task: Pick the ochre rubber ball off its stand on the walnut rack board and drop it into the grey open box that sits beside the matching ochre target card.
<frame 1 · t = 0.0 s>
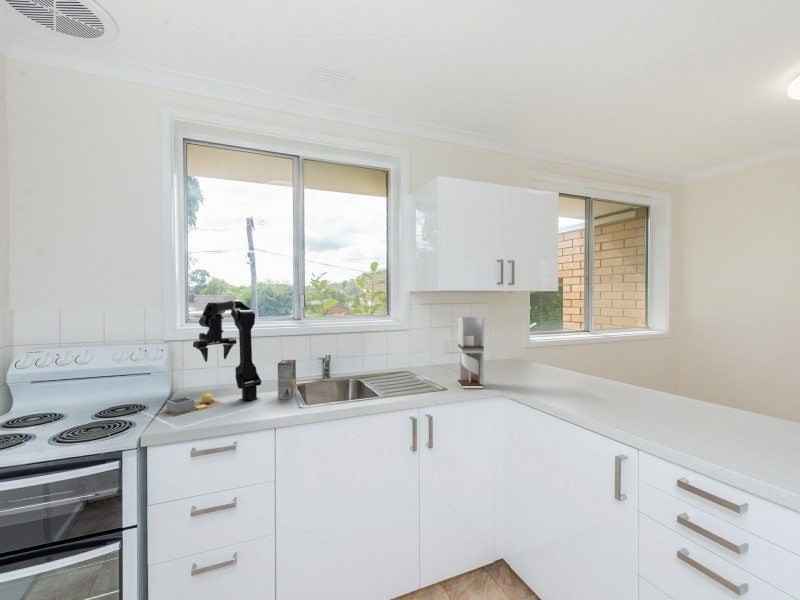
hand: (215, 360, 180), 15 cm above the worktop, fingers open, 9 cm apart
ball: (207, 403, 158), point 1 cm above the worktop, touching rack board
coffee box: (287, 396, 171), on the worktop
display case: (470, 386, 190), on the worktop
rack board: (193, 408, 153), on the worktop
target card: (201, 409, 151), resting on rack board
grey open box: (180, 411, 149), resting on rack board
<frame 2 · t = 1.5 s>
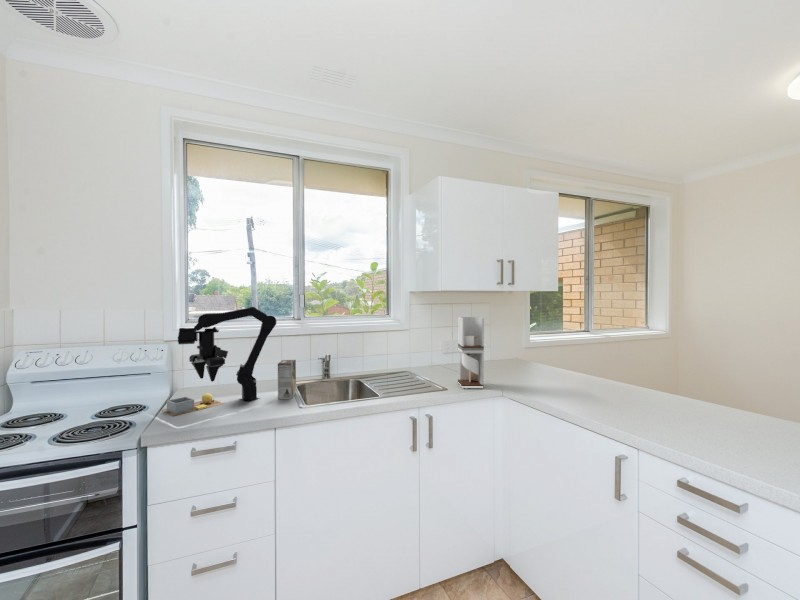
hand: (207, 379, 158), 10 cm above the worktop, fingers open, 9 cm apart
nothing on the worktop moved.
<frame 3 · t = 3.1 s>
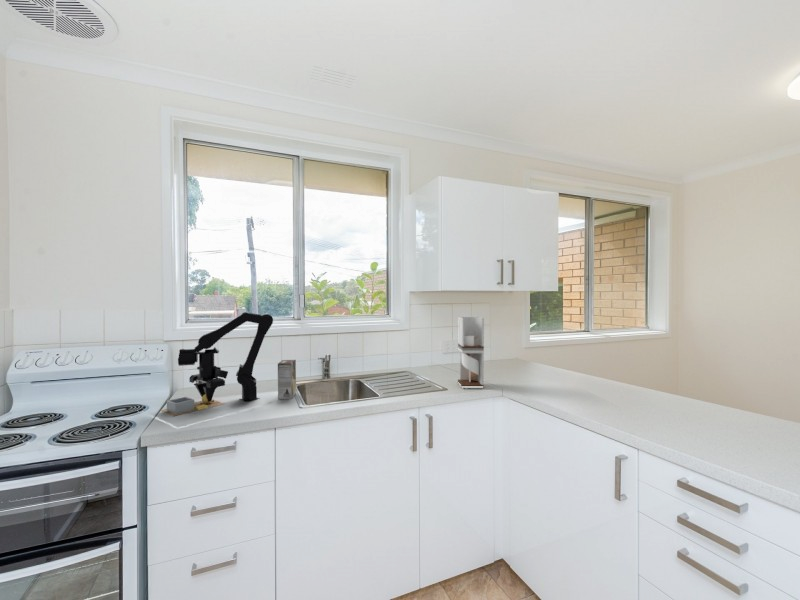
hand: (207, 400, 158), 2 cm above the worktop, fingers closed on ball, 4 cm apart
ball: (207, 403, 158), point 1 cm above the worktop, touching gripper, rack board
everything else where it was.
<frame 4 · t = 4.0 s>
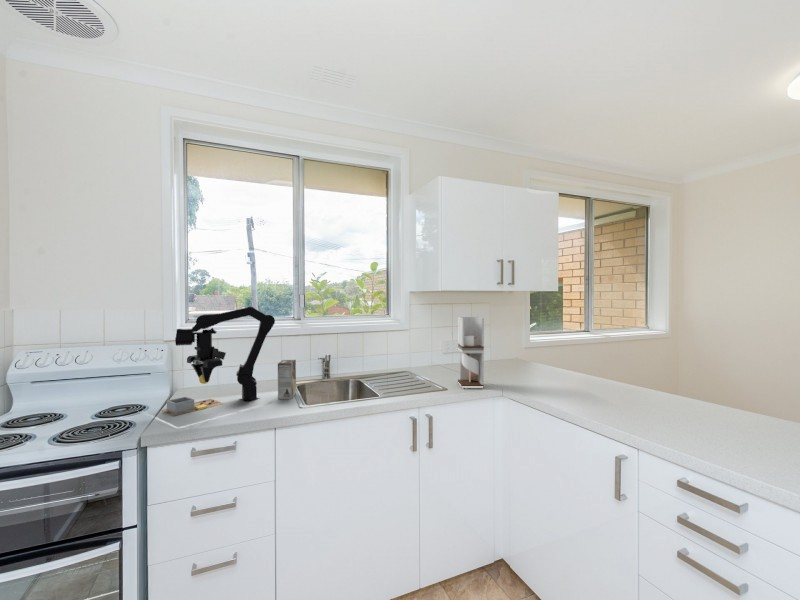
hand: (204, 381, 157), 10 cm above the worktop, fingers closed on ball, 4 cm apart
ball: (204, 383, 157), point 9 cm above the worktop, touching gripper
everything else where it was.
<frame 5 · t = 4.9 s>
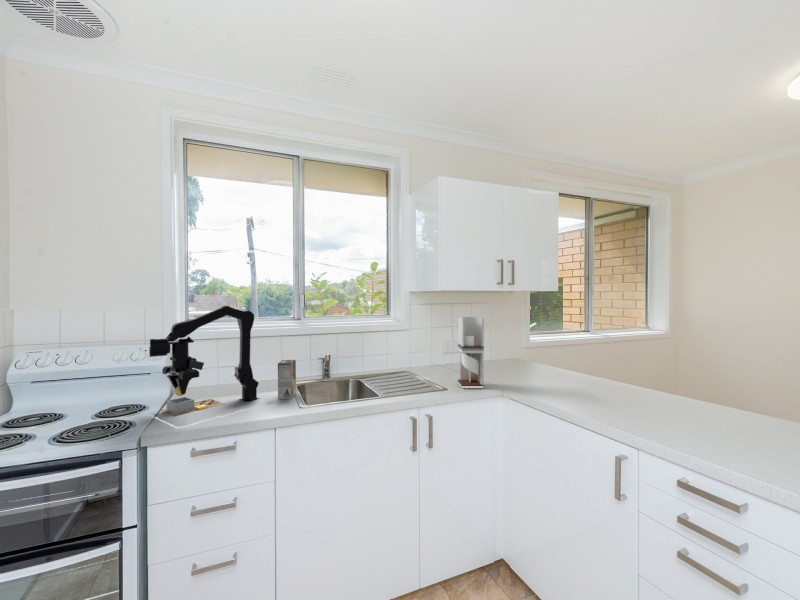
hand: (180, 393, 148), 7 cm above the worktop, fingers closed on ball, 4 cm apart
ball: (180, 395, 148), point 6 cm above the worktop, touching gripper
everything else where it was.
when the fingers open (6 cm above the worktop, at t = 5.2 s): ball drops 5 cm, resting on rack board.
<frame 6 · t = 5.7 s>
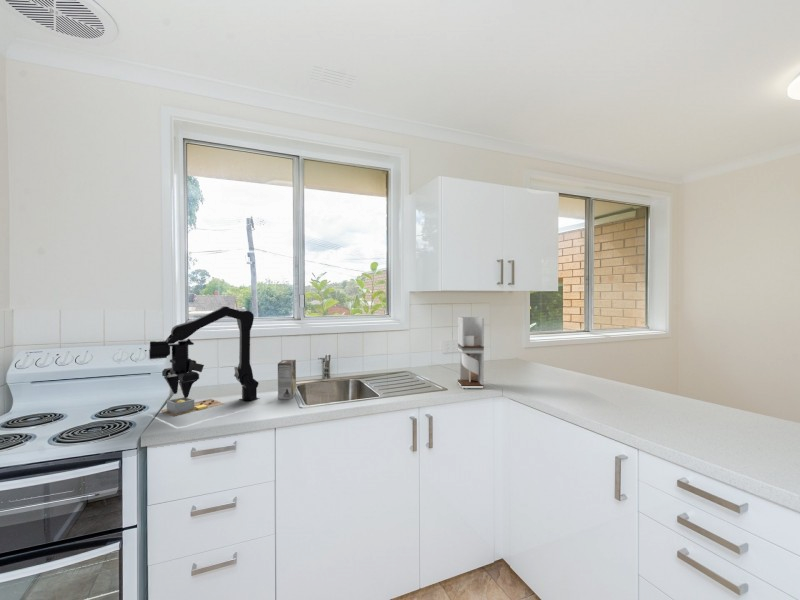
hand: (180, 395, 148), 6 cm above the worktop, fingers open, 9 cm apart
ball: (180, 410, 149), point 1 cm above the worktop, touching rack board
everything else where it was.
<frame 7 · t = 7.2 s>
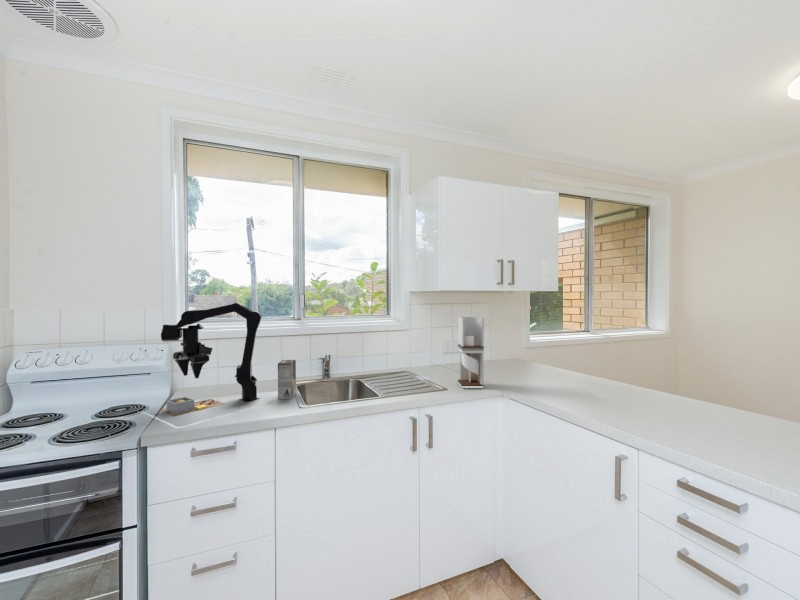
hand: (191, 376, 157), 12 cm above the worktop, fingers open, 9 cm apart
nothing on the worktop moved.
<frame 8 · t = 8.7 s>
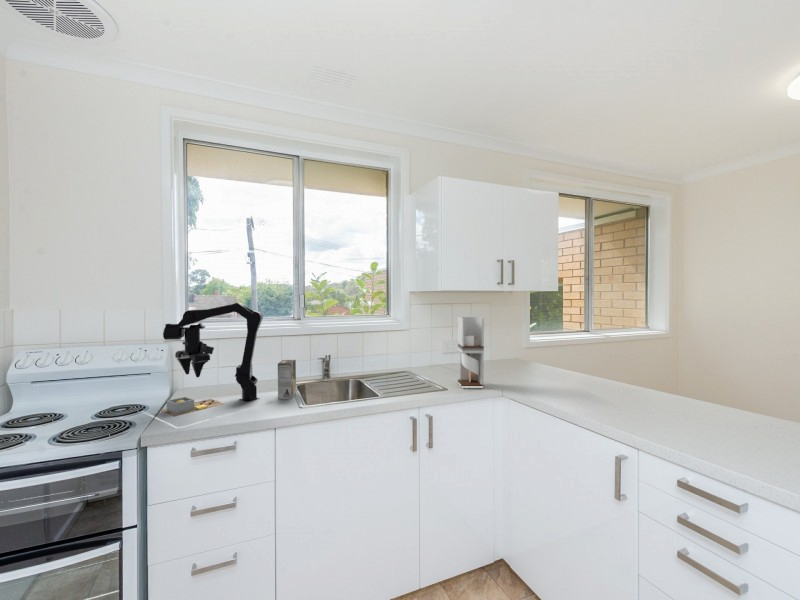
hand: (192, 375, 159), 12 cm above the worktop, fingers open, 9 cm apart
nothing on the worktop moved.
at the end: ball 0.0 cm off-centre on the grey open box, point 0.6 cm above the grey open box's base; the gripper is holding nothing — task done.
